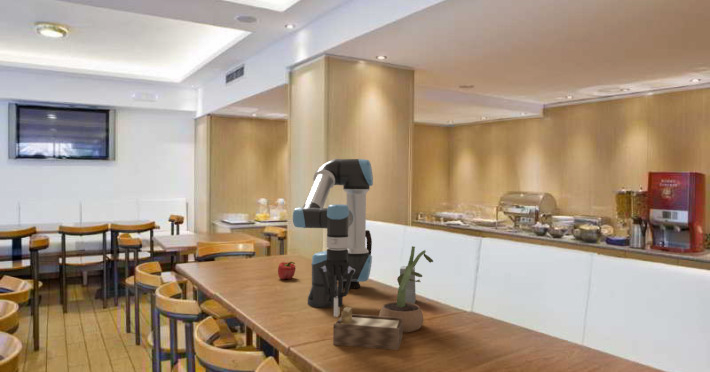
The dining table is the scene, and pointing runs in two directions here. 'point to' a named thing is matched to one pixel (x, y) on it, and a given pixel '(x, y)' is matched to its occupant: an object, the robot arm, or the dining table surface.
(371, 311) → the dining table surface
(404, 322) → the potted plant
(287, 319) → the dining table surface
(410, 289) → the skincare box
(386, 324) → the lid
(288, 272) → the vegetable
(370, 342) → the box
